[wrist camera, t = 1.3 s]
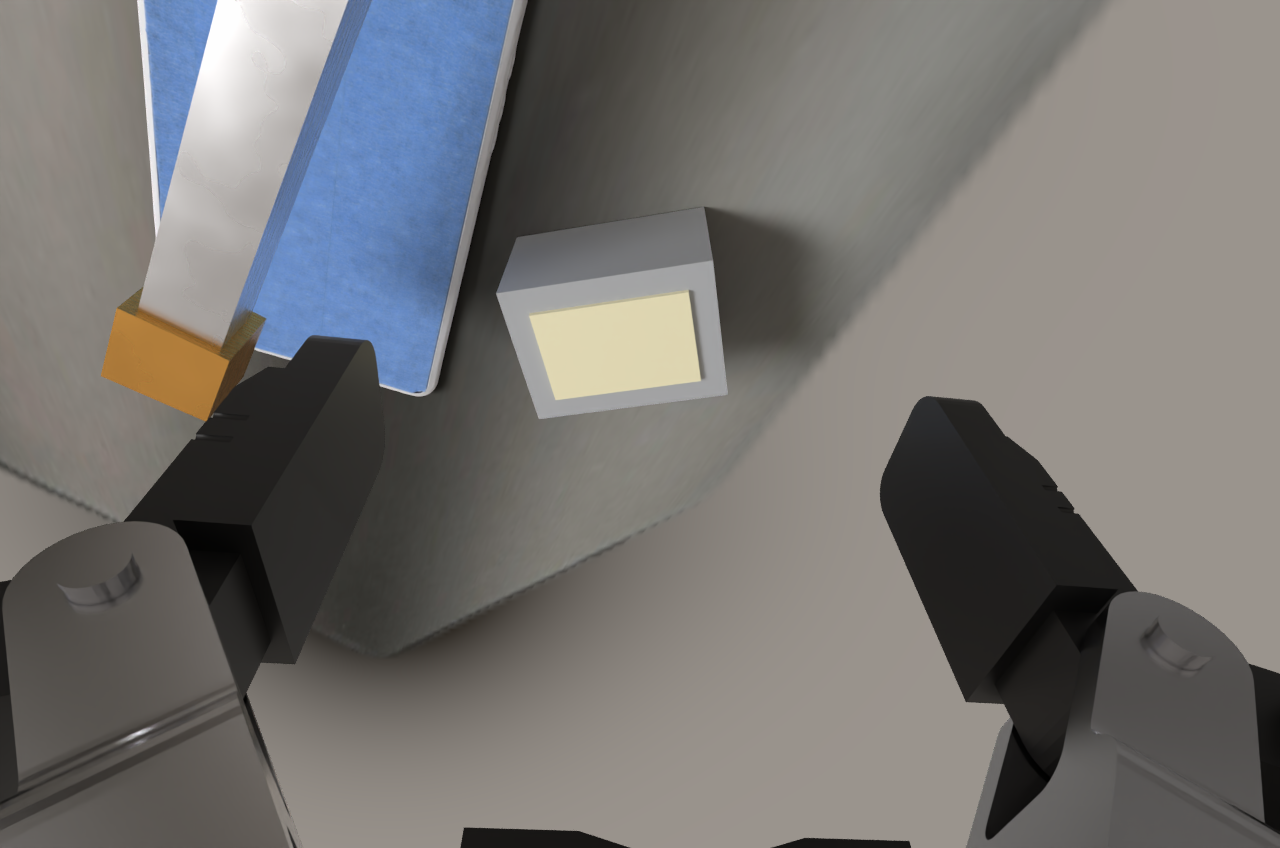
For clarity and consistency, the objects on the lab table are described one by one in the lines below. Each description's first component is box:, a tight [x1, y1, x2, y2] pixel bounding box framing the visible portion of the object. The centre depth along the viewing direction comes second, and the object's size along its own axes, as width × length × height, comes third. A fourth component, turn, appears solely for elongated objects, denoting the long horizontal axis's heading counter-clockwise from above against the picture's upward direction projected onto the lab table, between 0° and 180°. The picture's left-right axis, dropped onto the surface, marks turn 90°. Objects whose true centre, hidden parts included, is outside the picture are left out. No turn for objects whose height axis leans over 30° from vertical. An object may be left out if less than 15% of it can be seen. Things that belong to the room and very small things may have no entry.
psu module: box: [496, 207, 728, 419], centre depth 28 cm, size 8×6×5 cm
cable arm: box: [101, 0, 372, 421], centre depth 17 cm, size 24×4×3 cm, turn 145°
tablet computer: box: [137, 0, 528, 396], centre depth 27 cm, size 19×13×1 cm, turn 159°
